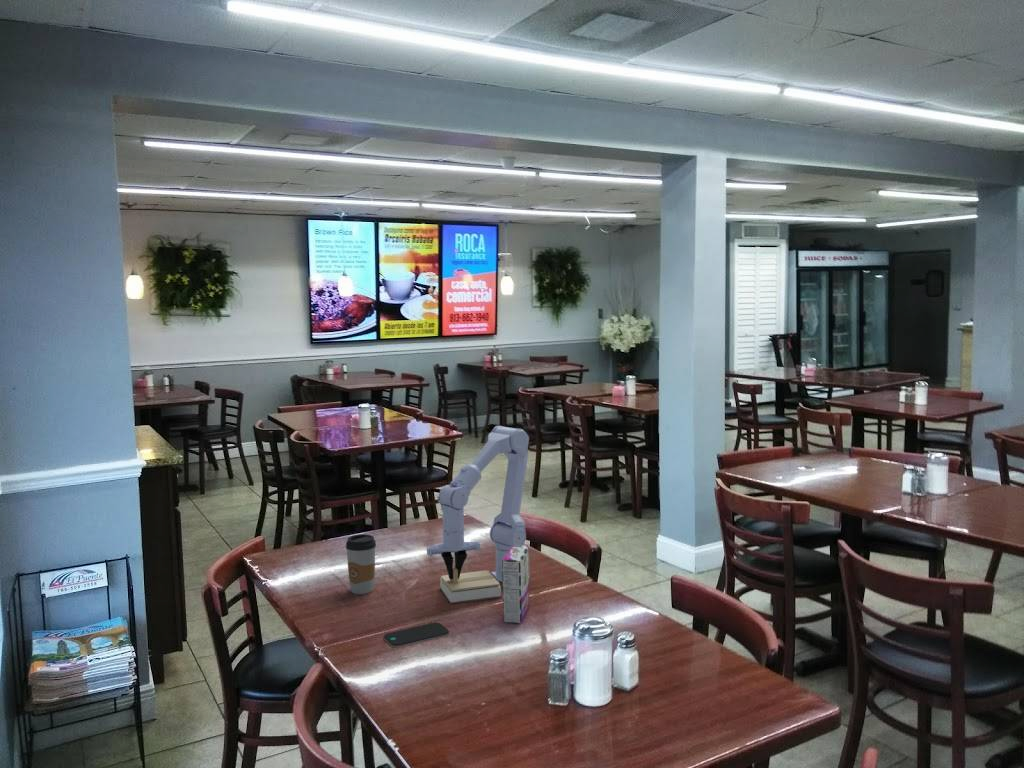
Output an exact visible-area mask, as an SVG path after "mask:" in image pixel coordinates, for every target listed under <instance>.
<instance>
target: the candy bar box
mask: <svg viewBox="0 0 1024 768" xmlns="http://www.w3.org/2000/svg"><path fill="white" fill-rule="evenodd" d="M528 553H529V547H527V546H526V547H510V549H509V551H508V552H507V554H506V555H505V557H504V558H503V560H502V576H503V582H502V605H503V607H502V610H503V614H502V615H503V623H505V624H522V623H523V621H524V619H525V616H526V615H527V613H528V611H529V608H530V580H529V579H530V578H529V576H530V568H529V569H528Z"/></svg>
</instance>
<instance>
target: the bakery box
mask: <svg viewBox="0 0 1024 768" xmlns="http://www.w3.org/2000/svg"><path fill="white" fill-rule="evenodd" d="M439 580H440V581H439V582H440V583H439V585H440V591H441V592H442V594H444V596H445V598H446V599H447V600H448V602H449V603H450V605H453V604H460V603H469V602H476V601H477V602H478V601H485V600H492V599H499V598H501V597H502V589H501V588H502V587H501V585H500V586H492V587H484V588H476V589H468V590H460V591H452V592H451V591H450V589H449V588H448V586H447V585H446V584H445V582H444V581H443V579H442V578H441V577H440V579H439Z"/></svg>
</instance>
